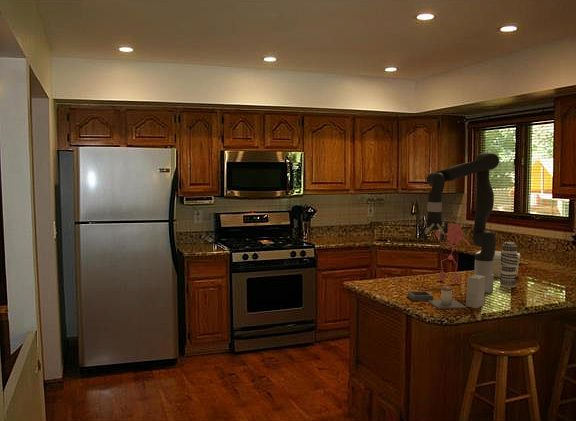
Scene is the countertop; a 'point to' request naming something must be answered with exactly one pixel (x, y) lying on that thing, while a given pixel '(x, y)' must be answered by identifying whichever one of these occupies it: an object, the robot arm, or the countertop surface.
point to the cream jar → (446, 295)
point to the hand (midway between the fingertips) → (433, 241)
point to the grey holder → (420, 295)
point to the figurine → (453, 236)
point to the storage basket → (497, 264)
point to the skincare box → (475, 291)
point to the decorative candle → (508, 265)
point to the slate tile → (442, 306)
